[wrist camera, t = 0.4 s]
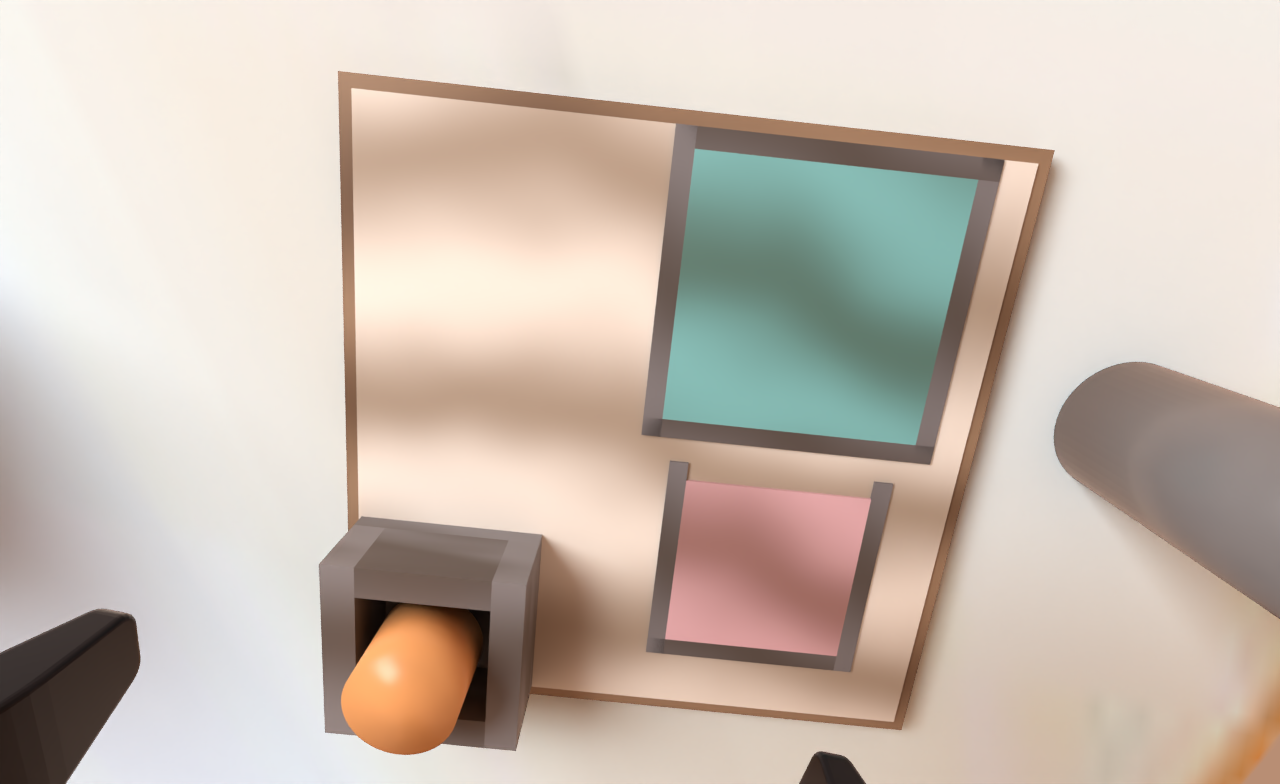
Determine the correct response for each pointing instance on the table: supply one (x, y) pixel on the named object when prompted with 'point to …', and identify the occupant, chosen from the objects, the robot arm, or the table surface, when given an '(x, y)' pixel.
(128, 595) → the table surface
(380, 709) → the button
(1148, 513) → the teal rubber stamp
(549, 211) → the colouring board
